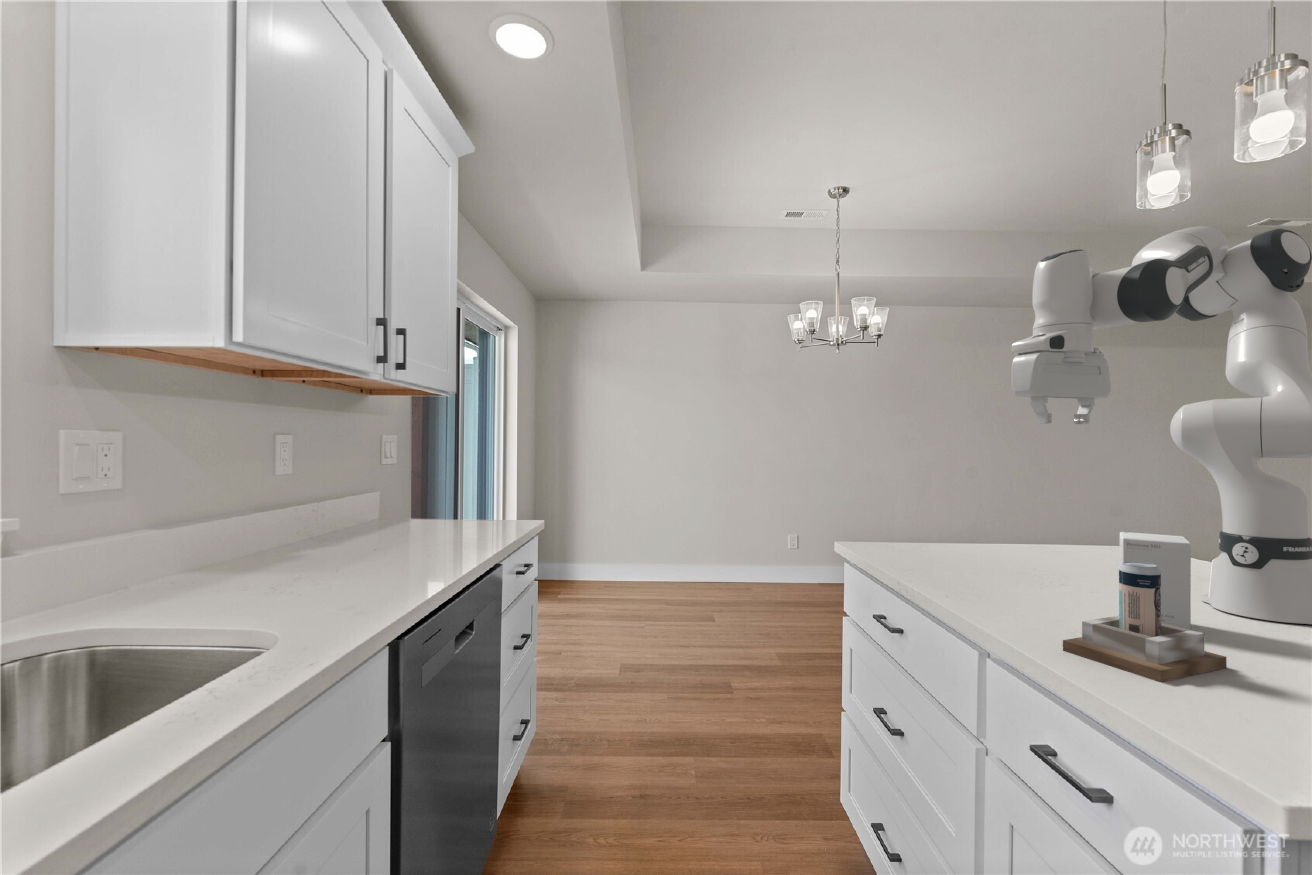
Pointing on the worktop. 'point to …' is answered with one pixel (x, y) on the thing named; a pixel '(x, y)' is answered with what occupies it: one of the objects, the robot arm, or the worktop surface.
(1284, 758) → the worktop surface
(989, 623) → the worktop surface
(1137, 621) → the beer can
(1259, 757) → the worktop surface
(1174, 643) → the socket base
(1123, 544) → the supplement box
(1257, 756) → the worktop surface
